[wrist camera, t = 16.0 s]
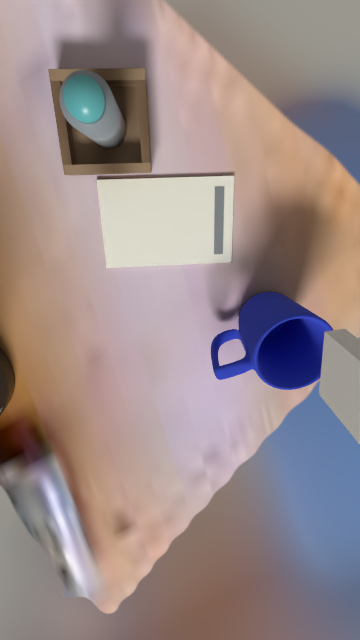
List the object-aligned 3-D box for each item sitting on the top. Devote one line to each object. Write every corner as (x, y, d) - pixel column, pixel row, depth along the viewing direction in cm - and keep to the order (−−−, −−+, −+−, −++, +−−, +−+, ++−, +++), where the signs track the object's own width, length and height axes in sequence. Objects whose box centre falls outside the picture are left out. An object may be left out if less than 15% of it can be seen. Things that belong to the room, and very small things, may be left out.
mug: (192, 308, 39) (204, 346, 30) (288, 273, 39) (331, 302, 29) (212, 363, 43) (228, 413, 33) (301, 332, 42) (343, 374, 33)
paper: (107, 267, 37) (106, 268, 36) (96, 179, 33) (96, 179, 33) (230, 261, 37) (231, 262, 37) (233, 175, 34) (234, 175, 34)
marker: (94, 150, 32) (62, 133, 21) (86, 109, 30) (48, 67, 19) (129, 146, 32) (116, 127, 21) (123, 105, 30) (106, 61, 19)
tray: (71, 175, 33) (64, 174, 30) (57, 78, 30) (48, 69, 27) (151, 172, 33) (150, 172, 31) (145, 77, 30) (145, 68, 28)
